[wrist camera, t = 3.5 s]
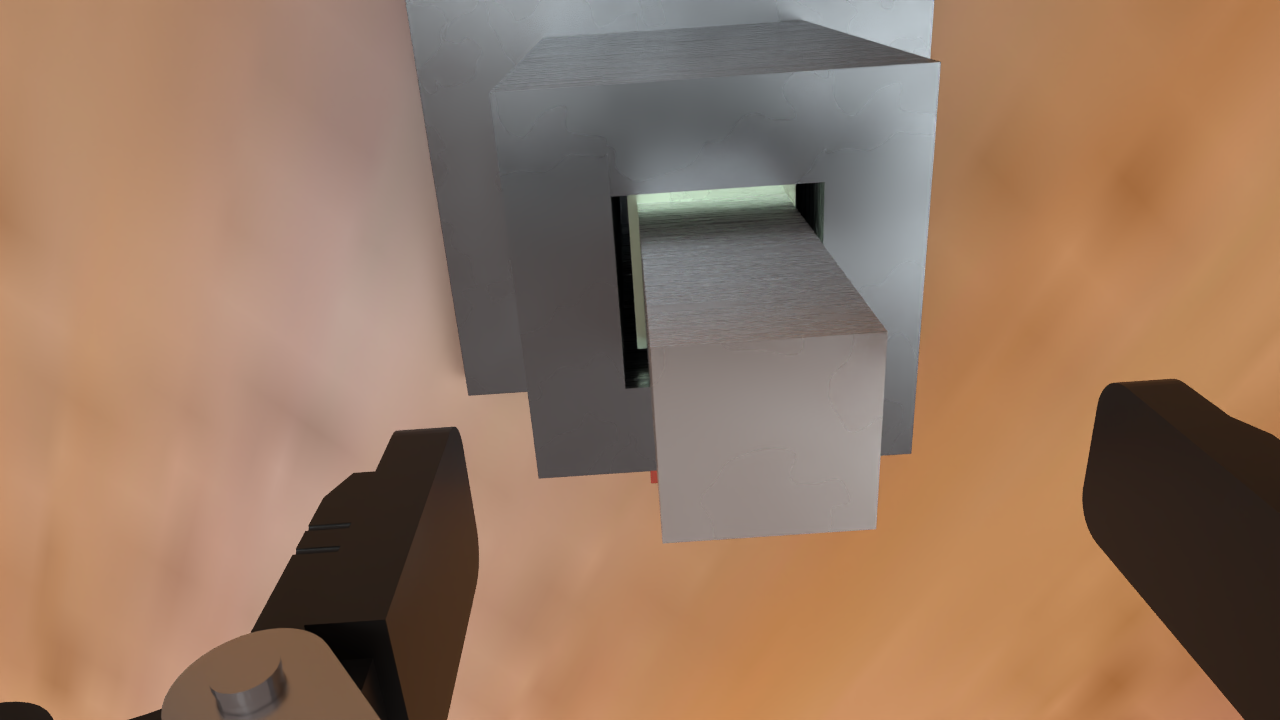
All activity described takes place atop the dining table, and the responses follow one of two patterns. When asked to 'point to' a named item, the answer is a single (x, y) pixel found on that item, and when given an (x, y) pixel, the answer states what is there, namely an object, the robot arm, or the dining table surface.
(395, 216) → the dining table surface
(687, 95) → the stand housing
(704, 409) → the column
